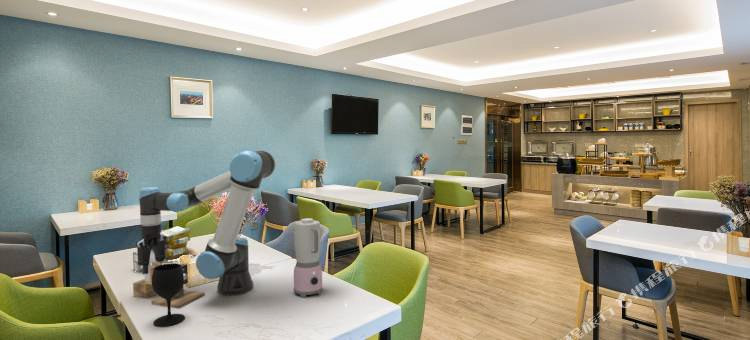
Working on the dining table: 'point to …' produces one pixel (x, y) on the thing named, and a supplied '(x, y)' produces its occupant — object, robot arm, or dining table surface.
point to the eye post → (181, 292)
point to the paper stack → (177, 243)
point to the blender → (307, 257)
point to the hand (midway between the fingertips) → (153, 278)
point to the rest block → (142, 289)
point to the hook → (152, 273)
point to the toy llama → (152, 260)
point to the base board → (180, 299)
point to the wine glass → (168, 290)
